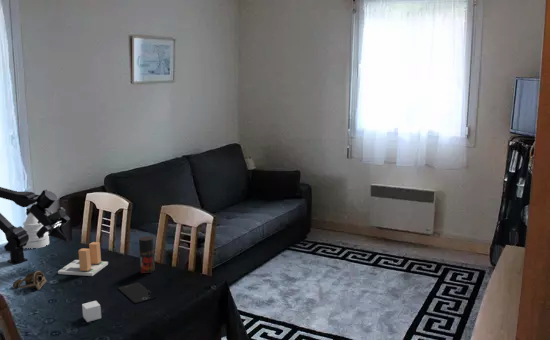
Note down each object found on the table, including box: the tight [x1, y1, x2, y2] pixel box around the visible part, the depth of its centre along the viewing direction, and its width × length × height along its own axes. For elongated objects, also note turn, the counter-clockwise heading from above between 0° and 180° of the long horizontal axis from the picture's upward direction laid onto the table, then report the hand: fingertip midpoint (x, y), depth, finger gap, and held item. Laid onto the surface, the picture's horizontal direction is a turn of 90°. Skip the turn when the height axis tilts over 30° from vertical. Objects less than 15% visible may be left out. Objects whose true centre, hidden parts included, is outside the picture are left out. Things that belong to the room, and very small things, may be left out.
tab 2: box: [88, 241, 102, 264], centre depth 241 cm, size 4×3×9 cm
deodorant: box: [138, 235, 156, 274], centre depth 234 cm, size 6×6×15 cm
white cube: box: [81, 300, 102, 323], centre depth 192 cm, size 5×5×5 cm
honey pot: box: [22, 214, 50, 250], centre depth 271 cm, size 13×13×18 cm
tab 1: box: [78, 247, 91, 271], centre depth 233 cm, size 4×3×9 cm
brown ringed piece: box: [12, 270, 47, 291], centre depth 219 cm, size 7×13×10 cm
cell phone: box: [118, 282, 152, 305], centre depth 213 cm, size 9×18×1 cm, turn 36°
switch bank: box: [57, 259, 109, 277], centre depth 239 cm, size 16×14×1 cm
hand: (66, 240), depth 243 cm, fingers closed
